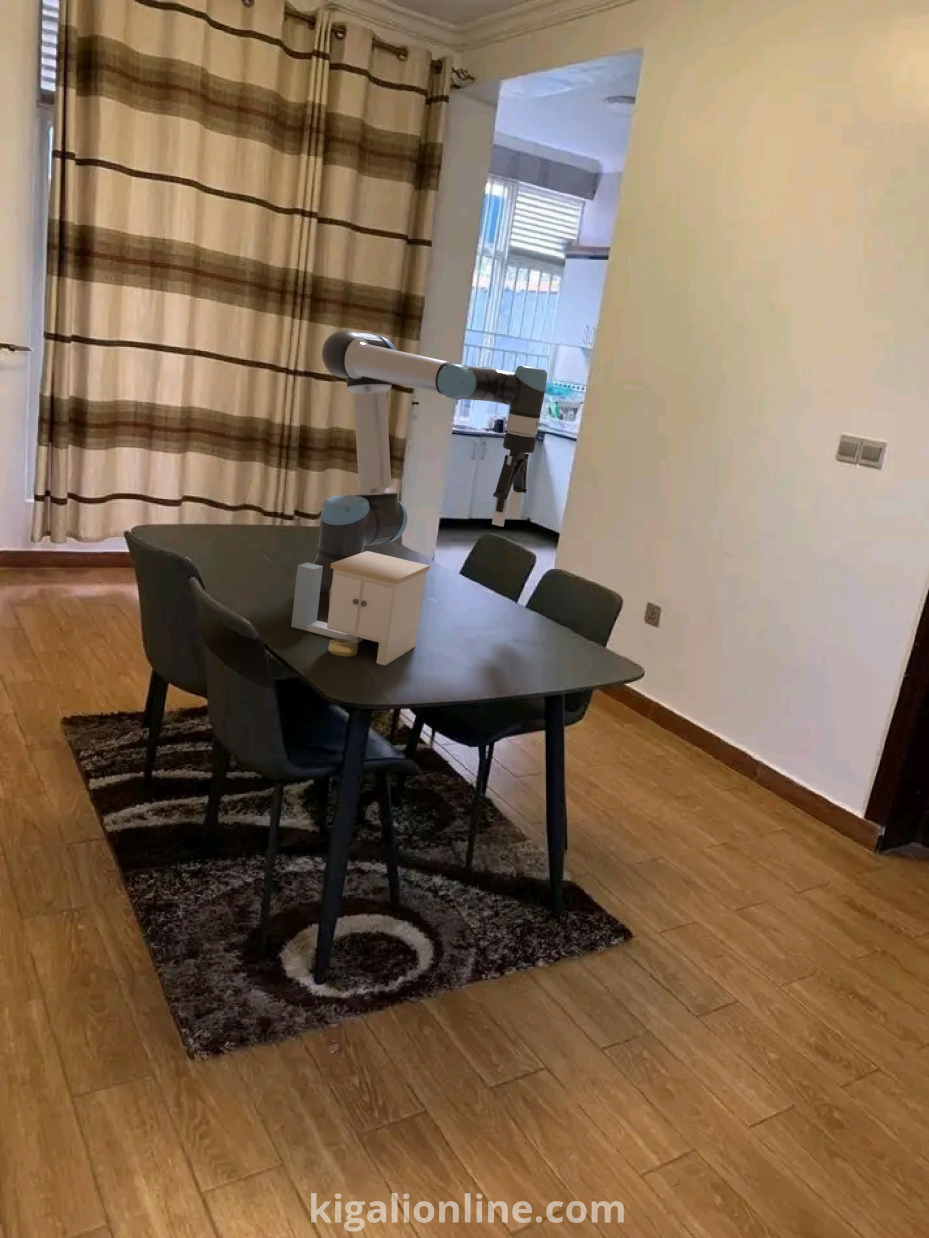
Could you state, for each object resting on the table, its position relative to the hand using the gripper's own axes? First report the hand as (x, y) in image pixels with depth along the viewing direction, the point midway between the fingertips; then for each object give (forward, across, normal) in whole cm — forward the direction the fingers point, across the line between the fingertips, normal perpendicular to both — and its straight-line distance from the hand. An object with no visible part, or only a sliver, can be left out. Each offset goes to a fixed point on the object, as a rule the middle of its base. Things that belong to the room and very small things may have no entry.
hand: (505, 521), depth 227 cm
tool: (+26, -38, +26) cm, 53 cm away
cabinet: (+25, -40, +14) cm, 50 cm away
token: (+26, -47, +18) cm, 56 cm away
